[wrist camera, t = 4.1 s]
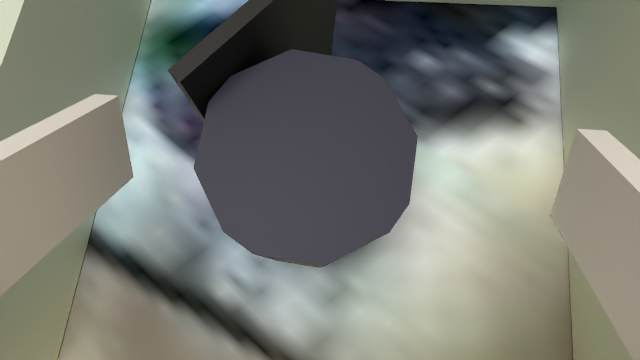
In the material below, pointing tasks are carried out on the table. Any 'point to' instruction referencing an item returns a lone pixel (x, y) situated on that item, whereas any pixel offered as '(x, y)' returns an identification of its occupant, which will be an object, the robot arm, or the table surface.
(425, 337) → the table surface
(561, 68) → the bay
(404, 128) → the speaker
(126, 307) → the table surface
